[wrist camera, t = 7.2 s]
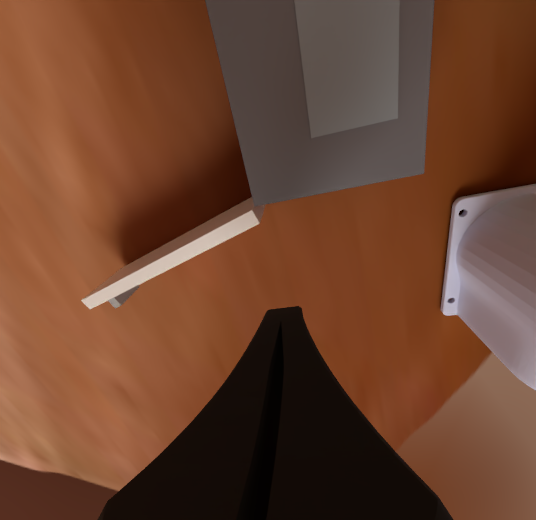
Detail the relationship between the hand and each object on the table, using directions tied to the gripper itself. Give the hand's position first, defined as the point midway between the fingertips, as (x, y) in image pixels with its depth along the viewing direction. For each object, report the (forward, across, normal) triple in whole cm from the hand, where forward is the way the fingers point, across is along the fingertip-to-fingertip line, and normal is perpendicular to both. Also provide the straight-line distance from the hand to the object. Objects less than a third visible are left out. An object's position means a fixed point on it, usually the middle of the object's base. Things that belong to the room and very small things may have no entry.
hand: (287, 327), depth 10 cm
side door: (+9, +7, -1) cm, 12 cm away
